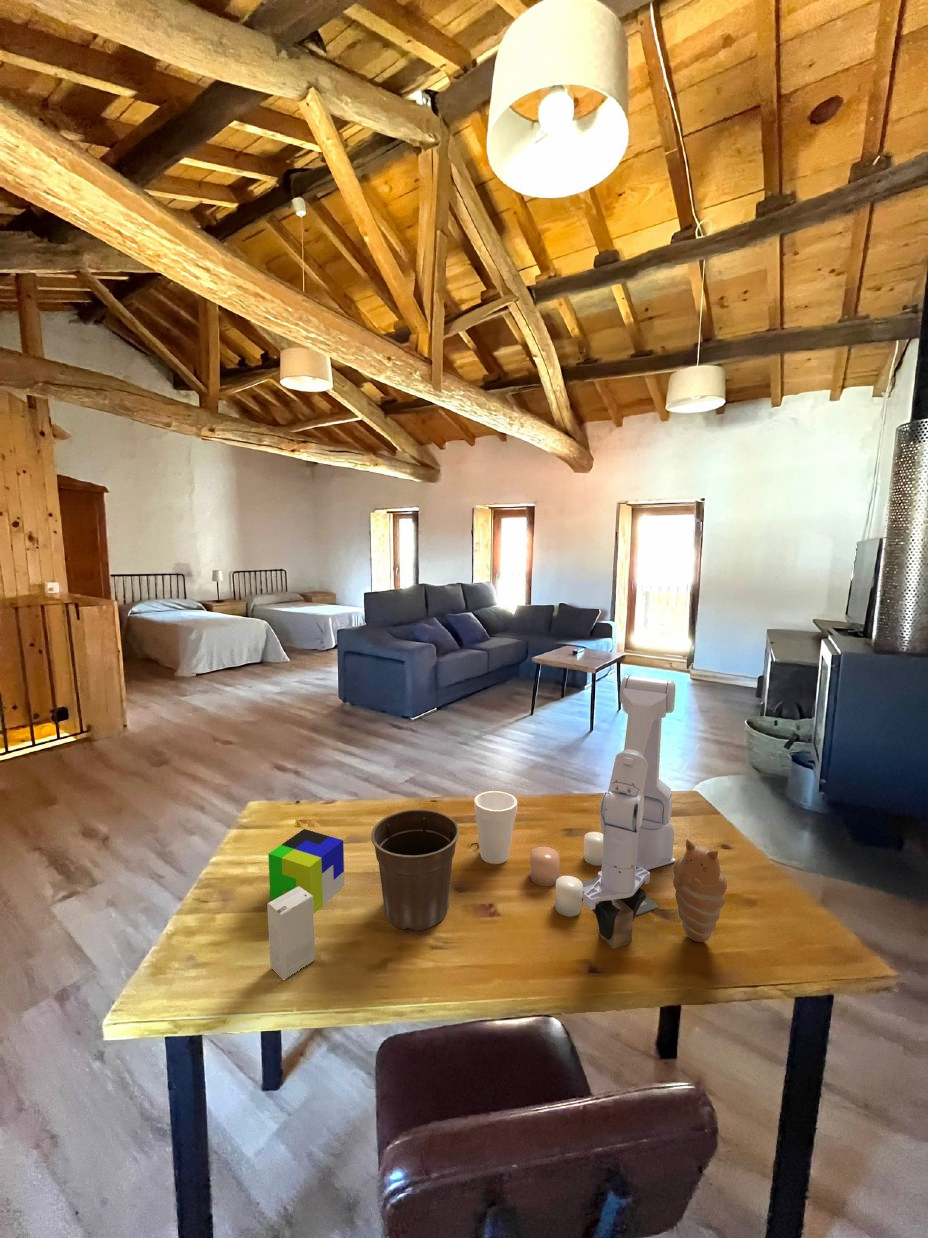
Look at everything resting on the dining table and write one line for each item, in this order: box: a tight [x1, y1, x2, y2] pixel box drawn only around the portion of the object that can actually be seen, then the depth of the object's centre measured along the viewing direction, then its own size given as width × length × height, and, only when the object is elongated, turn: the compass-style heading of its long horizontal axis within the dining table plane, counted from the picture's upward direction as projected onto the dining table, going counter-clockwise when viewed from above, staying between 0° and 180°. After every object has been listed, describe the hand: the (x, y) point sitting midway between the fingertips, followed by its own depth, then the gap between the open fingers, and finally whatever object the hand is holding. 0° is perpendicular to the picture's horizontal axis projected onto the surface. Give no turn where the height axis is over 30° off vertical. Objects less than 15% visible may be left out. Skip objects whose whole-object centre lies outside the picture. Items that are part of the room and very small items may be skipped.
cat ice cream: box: [672, 839, 728, 943], centre depth 94 cm, size 9×8×18 cm
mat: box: [581, 876, 660, 917], centre depth 107 cm, size 12×12×1 cm
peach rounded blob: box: [529, 846, 560, 887], centre depth 113 cm, size 6×6×5 cm
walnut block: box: [598, 899, 634, 950], centre depth 95 cm, size 4×4×6 cm
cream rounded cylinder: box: [583, 831, 603, 867], centre depth 119 cm, size 5×5×5 cm
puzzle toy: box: [267, 828, 345, 915], centre depth 106 cm, size 10×10×10 cm
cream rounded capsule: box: [554, 875, 583, 918], centre depth 103 cm, size 5×5×5 cm
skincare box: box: [266, 886, 316, 980], centre depth 88 cm, size 6×4×12 cm
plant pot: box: [370, 808, 460, 932], centre depth 101 cm, size 16×16×16 cm
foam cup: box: [473, 790, 518, 865], centre depth 120 cm, size 10×9×13 cm
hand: (615, 930), depth 96 cm, fingers closed on walnut block, 4 cm apart
